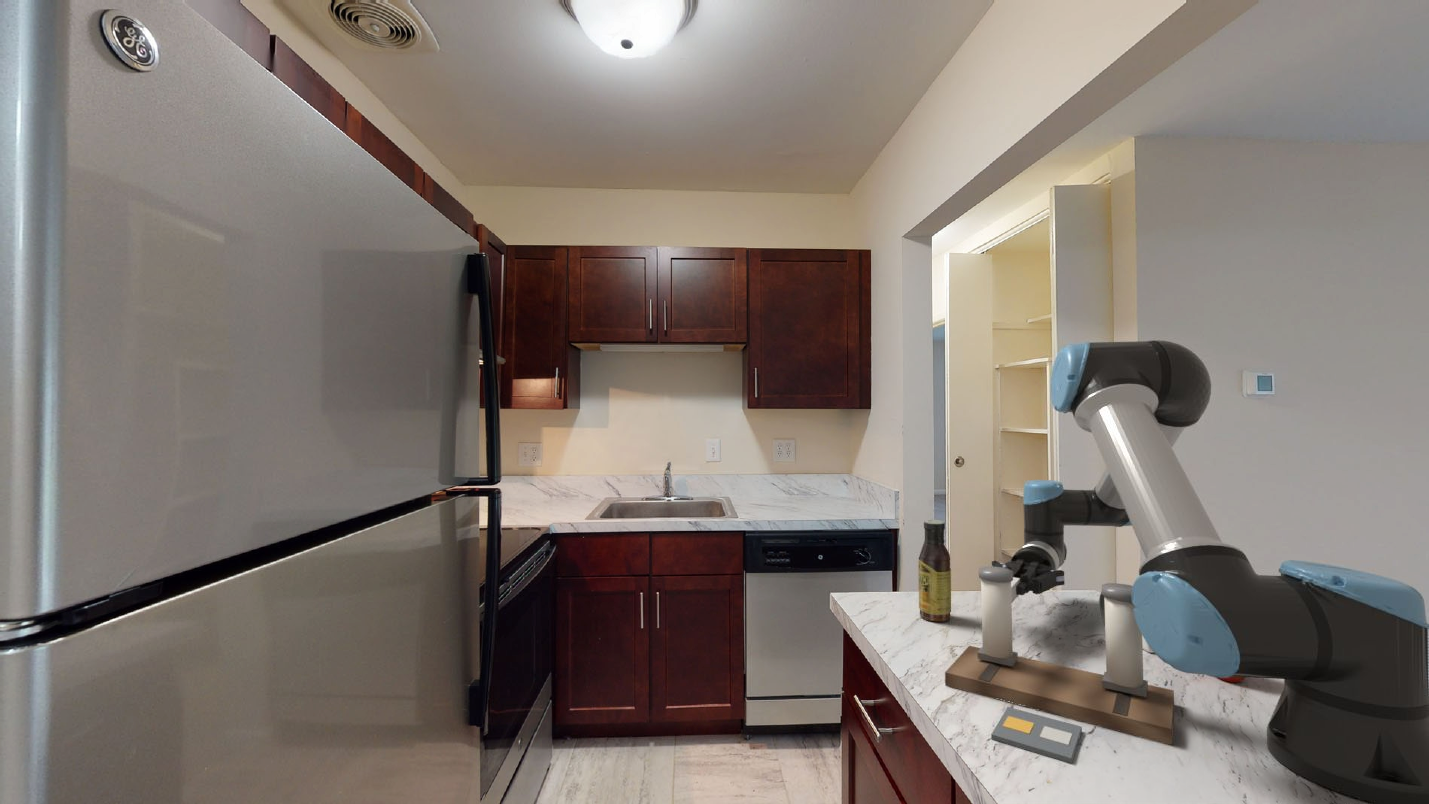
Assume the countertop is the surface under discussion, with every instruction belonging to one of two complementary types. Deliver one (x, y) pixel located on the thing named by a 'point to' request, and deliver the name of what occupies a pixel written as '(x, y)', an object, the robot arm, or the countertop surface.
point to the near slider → (1122, 642)
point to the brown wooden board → (1066, 694)
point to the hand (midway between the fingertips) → (1007, 594)
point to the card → (1038, 734)
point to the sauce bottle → (934, 574)
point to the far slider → (997, 616)
